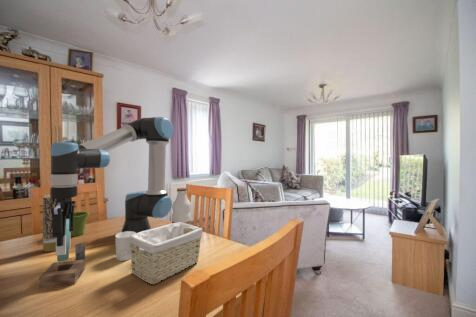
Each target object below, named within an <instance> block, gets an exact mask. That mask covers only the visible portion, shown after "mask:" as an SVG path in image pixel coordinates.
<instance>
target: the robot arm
mask: <svg viewBox="0 0 476 317" xmlns="http://www.w3.org/2000/svg"><path fill="white" fill-rule="evenodd" d="M174 129H175V128H174V125H173V123H172V122H171V121H170V119H168V118H167V117H164V116H154V117H152V116H151V117H141V118H138V119H136V120H133V121H131V122H129V123H126V124H123V125H122V127H121V128H118V129H116V130H114V131H110V132H108V133H105V134H103V135H101V136H98V137H96V138H93V139H90V140H89V141H88V140H87V141H85V142H83V143H80V144H78V143H77V142H68V141H67V142H66V141H65V142H64V141H55V142H52V144H51V146H50V147H51V148H50V155H49V156H50V176H49V177H48V178H49V180H50V186H51V187H50V191H49V195H50V197H51V198H53V199H54V198H55V199H56V204H55V208H52V209H51V213H52V237H56V250H55V256H57V255H65V254H66V235H65V227H66V219H69V251H70V250H71V245H72V244H71V239H72V236H71V232H70V231H73V230H74V228H73V222H74V212H75V206H76V201H75V200H72V198H75V197H78V186H77V185H78V182H79V181H78V172H79V171H78V170H79V169H101V168H106V167H108V166H109V164H110V161H111V155H110V153H109V151H111V150H113V149H116V148H118V147H119V146H122V145H124V144H126V143H129V142H136V141H138V140H145V143H147V145H148V171H147V172H148V174H147V176H148V177H147V180H148V181H147V190H146V191H145V190H144V191H135V192H129V193H126V195H125V201H124V211H125V212H124V223H123V226H122V227H121V231H120V233H121V232H126V231H133V232H135V233H139V232H142V231H145V230H149V229H152V227H151V224H150V221H149V218H154V219H163V218H165V217H166V216H168V215H169V213H170V212H171V210H172V205H173V200H172V199H171V197H169V196H168V193H169V192H168V190H166V152H167V150H166V148H167V145H169V143H170V142H169V141H170V139H171V138H172V137H173V136H174V133H175V131H174ZM148 217H149V218H148Z"/></svg>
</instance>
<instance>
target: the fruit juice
mask: <svg viewBox="0 0 476 317" xmlns="http://www.w3.org/2000/svg"><path fill="white" fill-rule="evenodd" d="M176 192H177V194H176V197H175V199H174V201H173V202H172V207H171V209H172V216H171V224H172V223H178V222H182V223H186V224H189V225H192V214H191V209H192V203H191V201H190V200H189V198H188V194H187V192H188V188H187V187H177V188H176ZM187 233H189V231H186V230H184V234H187Z"/></svg>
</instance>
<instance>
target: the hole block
mask: <svg viewBox="0 0 476 317" xmlns="http://www.w3.org/2000/svg"><path fill="white" fill-rule="evenodd" d="M85 270H86V258H85V259H83V260H75V259H74V260H65V261H60V262H59V261H57V262H53V263H52V264H50V265H49V267H47V269H46V270H45V271H44V272H42V274H40V275H39V276H38V290H43V289H44V288H45V289H51V288H50V287H52V288H57V286H59V287H66V286H72V285H71V284H73V285H76V283H77V282H78V280H80V279H79V278H81V276H82V275H83V273H84V272H85ZM65 285H66V286H65ZM45 289H44V290H45Z"/></svg>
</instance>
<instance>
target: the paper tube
mask: <svg viewBox="0 0 476 317" xmlns="http://www.w3.org/2000/svg"><path fill="white" fill-rule="evenodd" d="M42 198H43V199H42V202H43V203H42V251H43V252H46V253H48V252H56V237H52V213H51V209H52V208H55V204H56V199H55V198H54V199H53V198H51V197H50V194H46V195H43V196H42Z"/></svg>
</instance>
